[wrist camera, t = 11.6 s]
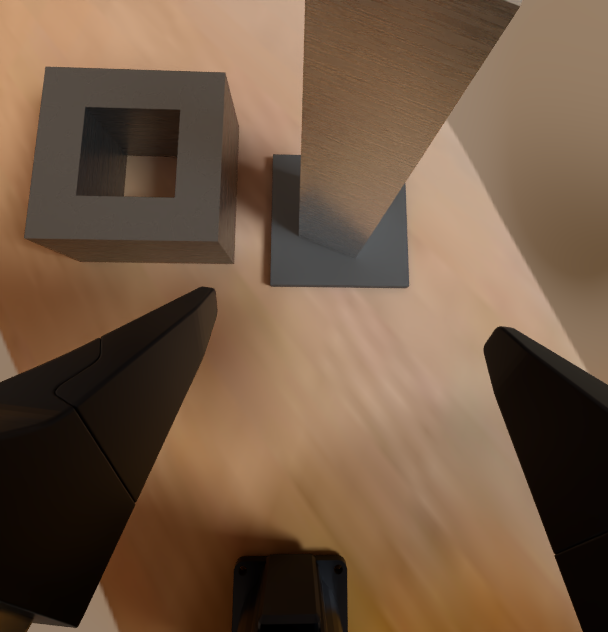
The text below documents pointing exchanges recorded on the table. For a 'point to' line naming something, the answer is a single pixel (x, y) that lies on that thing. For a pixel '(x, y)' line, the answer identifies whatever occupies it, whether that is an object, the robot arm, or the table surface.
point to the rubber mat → (324, 263)
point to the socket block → (110, 166)
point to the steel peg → (380, 101)
